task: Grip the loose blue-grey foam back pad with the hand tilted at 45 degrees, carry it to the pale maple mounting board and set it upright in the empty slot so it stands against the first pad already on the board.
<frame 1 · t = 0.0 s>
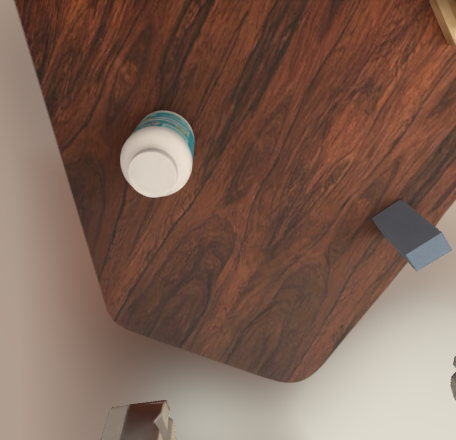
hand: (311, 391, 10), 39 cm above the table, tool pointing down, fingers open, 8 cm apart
loose pad: (390, 216, 53), on the table
pill bottle: (165, 138, 45), on the table
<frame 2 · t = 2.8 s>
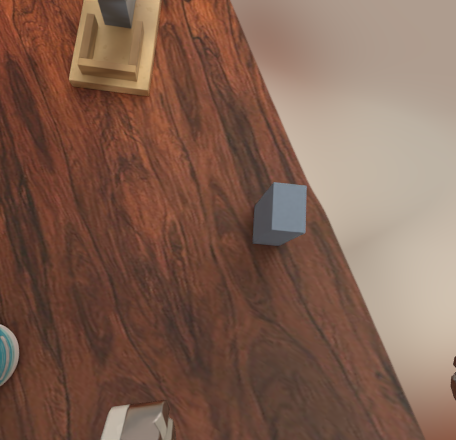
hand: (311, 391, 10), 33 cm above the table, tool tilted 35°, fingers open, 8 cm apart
pad board: (116, 55, 47), on the table
loose pad: (266, 225, 45), on the table
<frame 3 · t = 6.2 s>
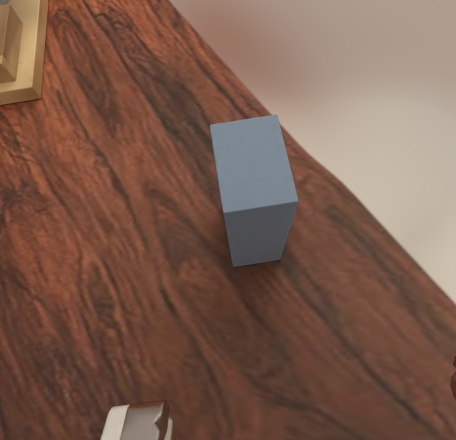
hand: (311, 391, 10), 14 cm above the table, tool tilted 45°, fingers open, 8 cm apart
loose pad: (251, 231, 26), on the table
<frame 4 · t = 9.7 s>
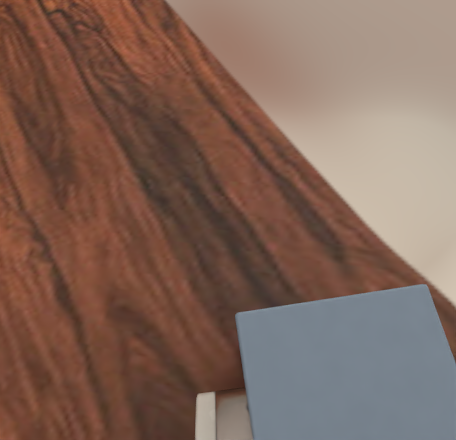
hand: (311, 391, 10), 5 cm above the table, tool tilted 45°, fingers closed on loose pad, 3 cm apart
loose pad: (294, 397, 14), on the table, touching gripper
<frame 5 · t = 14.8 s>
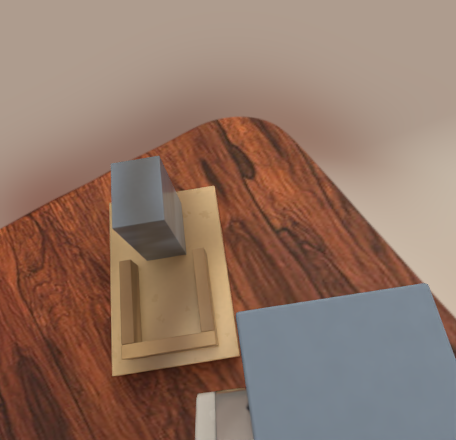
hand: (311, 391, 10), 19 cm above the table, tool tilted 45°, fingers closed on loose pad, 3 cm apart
pad board: (173, 298, 30), on the table
loose pad: (294, 397, 14), point 14 cm above the table, touching gripper
when the fingers open (7 cm above the table, at t = 19.9 s): loose pad stays where it is, resting on pad board.
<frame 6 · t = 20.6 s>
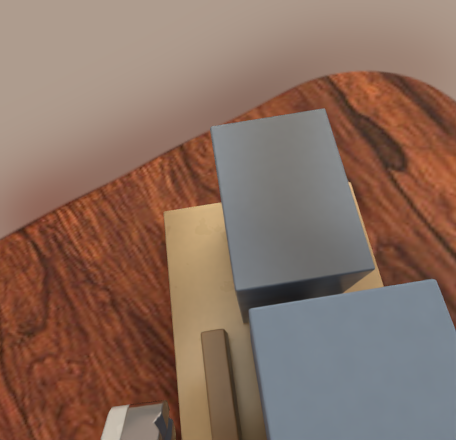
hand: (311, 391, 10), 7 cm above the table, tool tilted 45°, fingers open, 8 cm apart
pad board: (292, 392, 16), on the table
loose pad: (301, 393, 15), point 1 cm above the table, touching pad board
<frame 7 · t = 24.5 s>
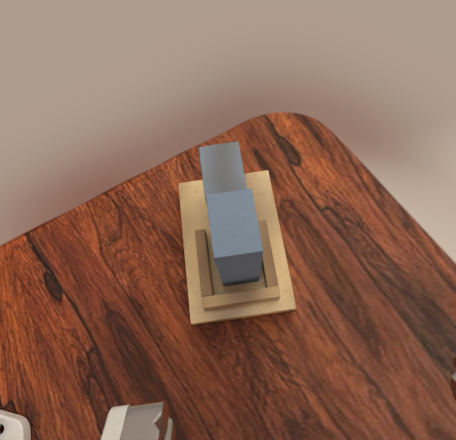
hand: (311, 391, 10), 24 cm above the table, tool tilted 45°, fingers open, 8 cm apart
pad board: (235, 263, 36), on the table
loose pad: (237, 259, 34), point 1 cm above the table, touching pad board
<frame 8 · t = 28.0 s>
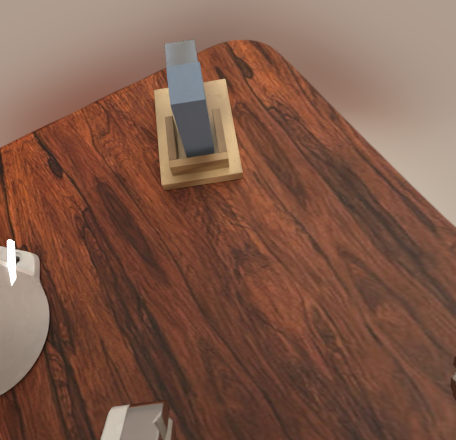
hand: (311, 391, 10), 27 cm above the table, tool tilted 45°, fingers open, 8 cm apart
pad board: (198, 148, 46), on the table
loose pad: (198, 140, 44), point 1 cm above the table, touching pad board
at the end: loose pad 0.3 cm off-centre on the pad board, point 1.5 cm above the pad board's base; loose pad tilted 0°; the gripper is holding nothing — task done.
